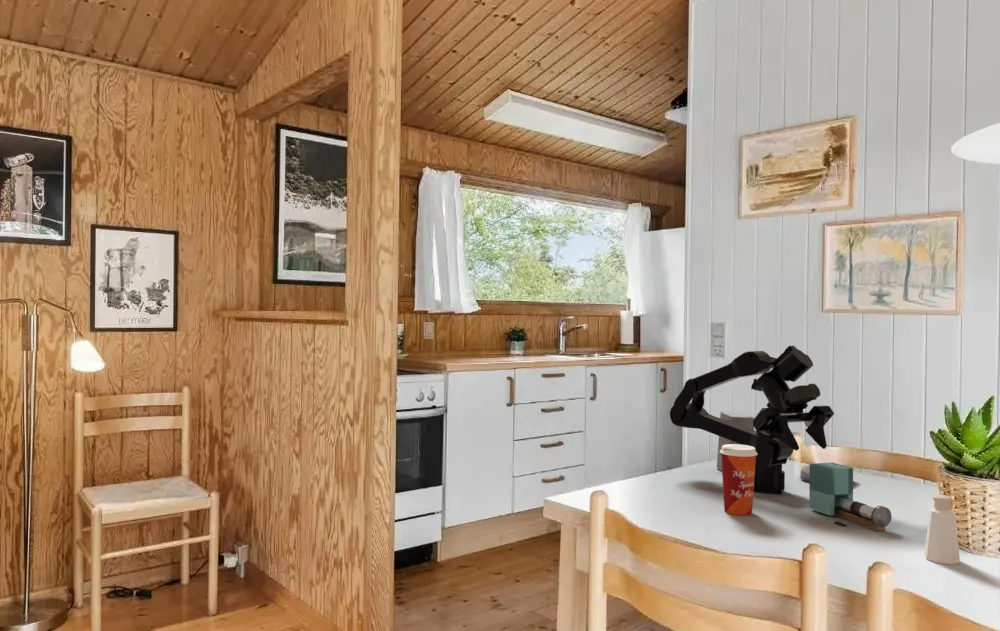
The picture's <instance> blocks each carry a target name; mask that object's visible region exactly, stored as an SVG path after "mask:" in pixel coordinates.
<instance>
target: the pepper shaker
mask: <svg viewBox="0 0 1000 631" xmlns="http://www.w3.org/2000/svg"><path fill="white" fill-rule="evenodd" d="M932 499H933V501H932V503H933V507H932V508H930V509H929V514H928V522H927V530H926V539H925V546H924V554H923V555H924V557H925V559H926V560H927V561H930V562H933V563H936V564H942V565H950V566H953V565H957V564H960V563H961V558H960V557H961V556H960V549H959V547H960V546H959V539H958V530H957V522H956V521H957V520H956V514H955V512H954V511H953V510H952V500H953V498H952V497H951V496H949V495H944V494H935V495H933V496H932Z"/></svg>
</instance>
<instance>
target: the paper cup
mask: <svg viewBox="0 0 1000 631" xmlns="http://www.w3.org/2000/svg"><path fill="white" fill-rule="evenodd" d="M720 453H721V456H722V471H721V472H722V474H721V476H722V493H723V508H724V510H723V511H724V512H725V513H727V514H729V515H731V516H732V515H733V516H743V517H744V516H750V515H752V513H753V502H754V492H755V491H754V477H755V462H756V455H757V452H756V449H755V448H754V447H752V446H748V445H740V444H727V445H723V446H722V449H721V450H720Z"/></svg>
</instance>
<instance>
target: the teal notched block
mask: <svg viewBox="0 0 1000 631" xmlns="http://www.w3.org/2000/svg"><path fill="white" fill-rule="evenodd" d="M809 464H810V463H809ZM808 490H809V496H808V497H809V498H808V500H809V503H808V504H809V506H808V507H809V508H808V509H811V510H814V511H816V512H819V513H822V514H823V515H828V516H834V495H837V496H840V497H843V498H846V499H849V500H852V501H854V467H850V466H847V465H843V464H839V463H836V462H833V461H832V462H819V463H818V462H817V463H813V464H810V482H809V489H808Z"/></svg>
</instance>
